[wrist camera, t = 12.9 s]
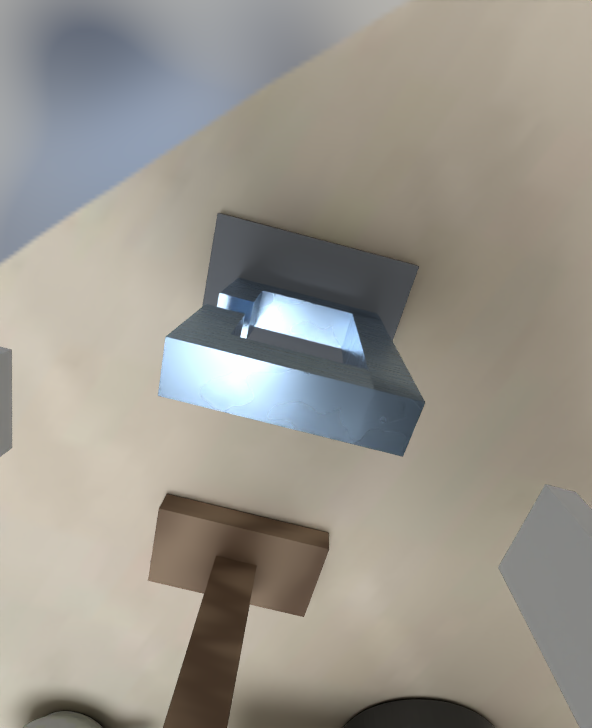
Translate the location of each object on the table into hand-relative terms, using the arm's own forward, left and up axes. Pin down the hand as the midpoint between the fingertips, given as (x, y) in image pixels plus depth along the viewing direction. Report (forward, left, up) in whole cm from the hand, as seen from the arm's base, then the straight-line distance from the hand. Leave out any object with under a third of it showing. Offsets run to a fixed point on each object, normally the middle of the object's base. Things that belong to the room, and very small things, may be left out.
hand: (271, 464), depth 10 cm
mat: (0, 0, -14) cm, 14 cm away
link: (0, 0, -14) cm, 14 cm away
